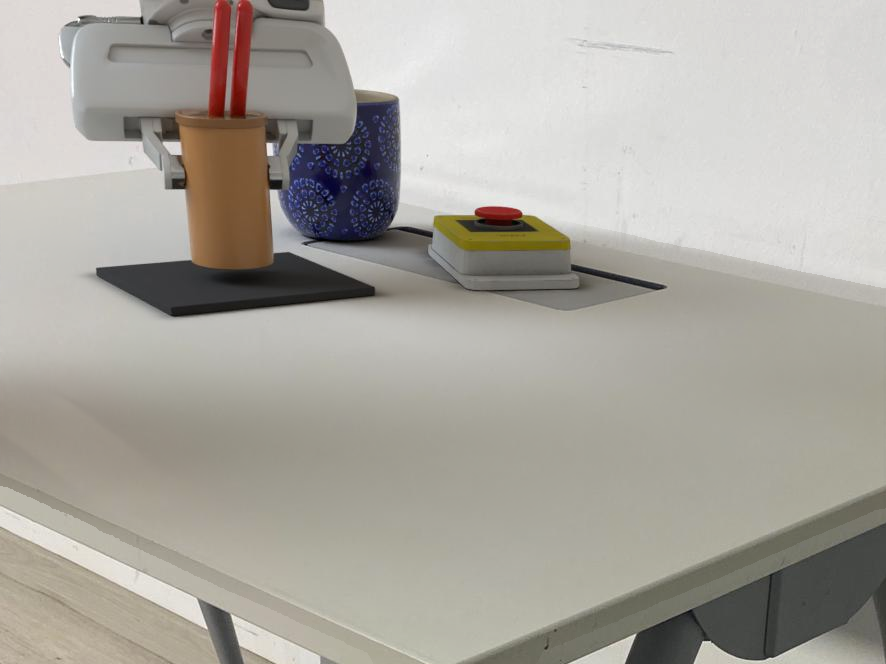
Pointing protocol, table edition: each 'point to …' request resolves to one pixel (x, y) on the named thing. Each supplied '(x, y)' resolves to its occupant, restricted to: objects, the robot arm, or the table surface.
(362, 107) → the planter
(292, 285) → the mat
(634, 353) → the table surface
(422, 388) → the table surface
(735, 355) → the table surface
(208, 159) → the pliers tin
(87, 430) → the table surface
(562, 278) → the emergency button
